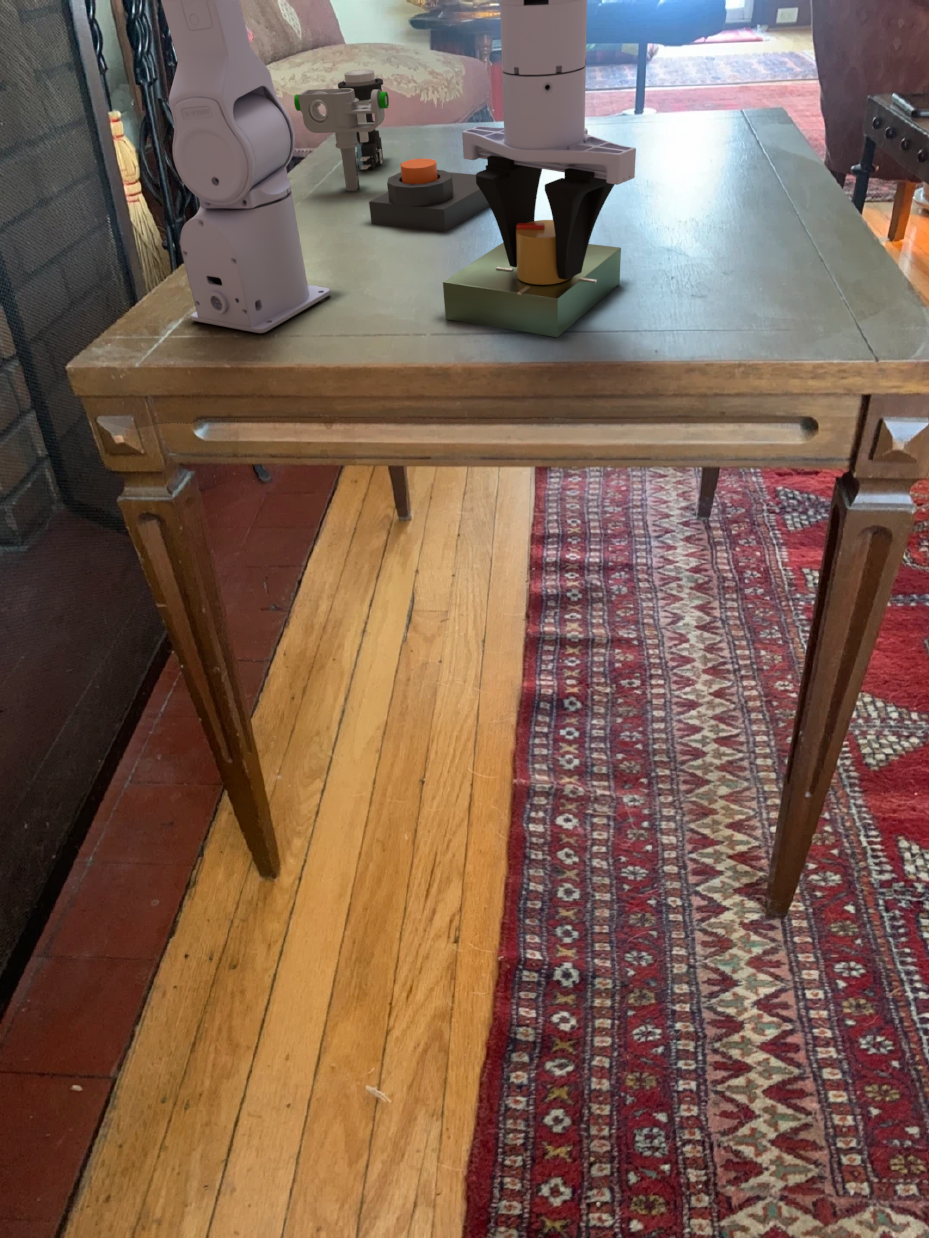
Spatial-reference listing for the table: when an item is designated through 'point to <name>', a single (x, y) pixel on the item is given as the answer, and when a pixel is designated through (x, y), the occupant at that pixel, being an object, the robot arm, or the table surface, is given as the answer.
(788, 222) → the table surface
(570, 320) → the block
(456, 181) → the box
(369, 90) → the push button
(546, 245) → the dial knob
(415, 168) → the button
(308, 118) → the mechanical component
